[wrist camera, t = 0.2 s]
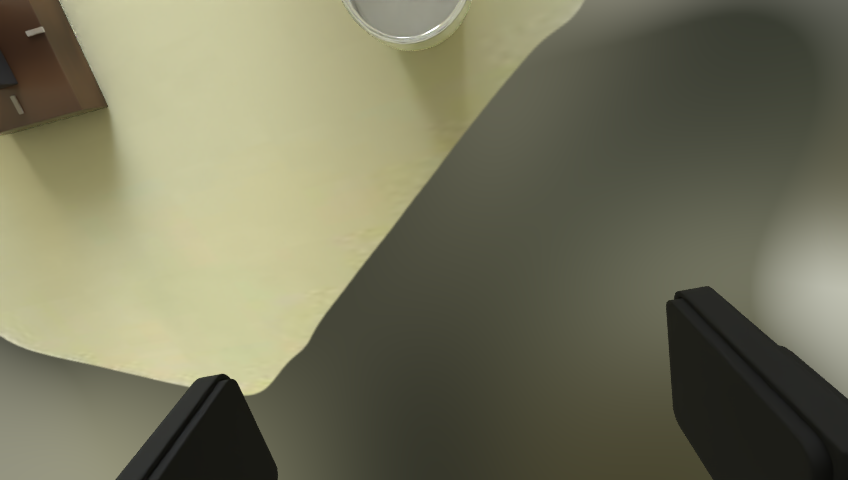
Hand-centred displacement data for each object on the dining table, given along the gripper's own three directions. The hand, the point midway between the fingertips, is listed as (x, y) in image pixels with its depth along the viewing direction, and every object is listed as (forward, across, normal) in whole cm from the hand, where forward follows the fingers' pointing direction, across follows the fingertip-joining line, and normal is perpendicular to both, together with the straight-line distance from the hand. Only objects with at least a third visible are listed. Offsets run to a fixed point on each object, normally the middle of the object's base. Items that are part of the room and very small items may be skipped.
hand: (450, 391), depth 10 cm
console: (+31, +33, -16) cm, 48 cm away
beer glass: (+31, 0, -11) cm, 33 cm away
